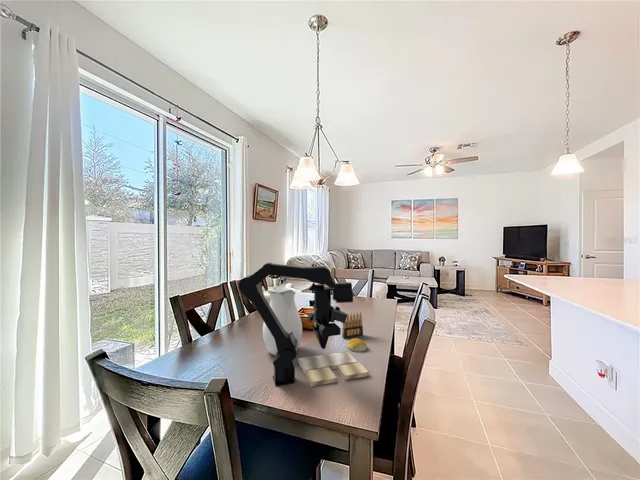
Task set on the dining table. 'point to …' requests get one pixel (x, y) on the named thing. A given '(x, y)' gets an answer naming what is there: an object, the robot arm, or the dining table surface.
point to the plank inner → (320, 376)
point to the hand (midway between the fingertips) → (323, 348)
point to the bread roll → (356, 345)
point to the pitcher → (283, 315)
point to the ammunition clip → (352, 326)
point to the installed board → (326, 361)
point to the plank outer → (352, 371)
